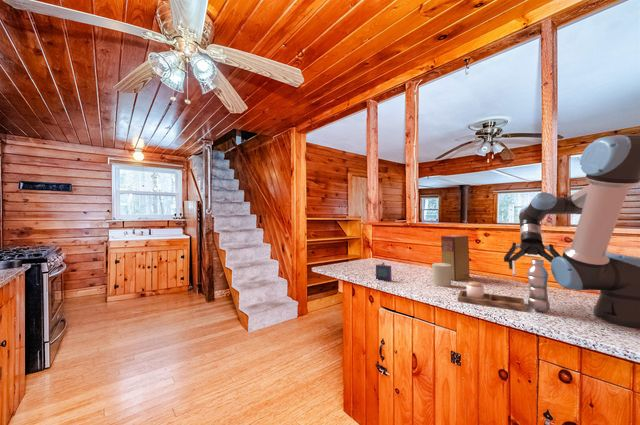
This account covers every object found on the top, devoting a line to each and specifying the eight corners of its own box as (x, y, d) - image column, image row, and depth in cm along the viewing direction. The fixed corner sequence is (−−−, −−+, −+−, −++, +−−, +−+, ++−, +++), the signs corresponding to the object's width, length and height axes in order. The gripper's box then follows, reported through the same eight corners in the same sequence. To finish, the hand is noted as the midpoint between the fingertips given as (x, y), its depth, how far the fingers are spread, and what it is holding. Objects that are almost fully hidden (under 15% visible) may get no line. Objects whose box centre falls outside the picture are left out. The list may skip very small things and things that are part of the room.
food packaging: (456, 274, 164) (455, 234, 163) (470, 278, 155) (469, 235, 155) (441, 277, 158) (440, 235, 158) (455, 281, 149) (454, 236, 149)
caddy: (523, 305, 110) (523, 298, 110) (525, 314, 101) (525, 306, 101) (461, 296, 123) (461, 290, 123) (458, 303, 114) (457, 296, 114)
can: (453, 289, 135) (453, 265, 135) (434, 288, 137) (434, 265, 137) (448, 284, 144) (448, 262, 144) (430, 283, 146) (430, 261, 146)
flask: (392, 280, 154) (391, 262, 154) (390, 281, 152) (390, 263, 152) (376, 278, 159) (376, 261, 159) (375, 280, 156) (374, 261, 156)
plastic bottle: (551, 315, 100) (550, 262, 100) (528, 311, 103) (527, 260, 103) (548, 309, 105) (547, 259, 105) (526, 306, 109) (525, 257, 109)
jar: (484, 299, 116) (483, 282, 116) (483, 303, 111) (483, 285, 110) (467, 296, 119) (467, 280, 119) (466, 300, 114) (465, 283, 114)
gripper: (567, 243, 114) (576, 287, 102) (497, 240, 128) (497, 278, 116) (570, 231, 109) (579, 276, 97) (497, 230, 123) (497, 268, 111)
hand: (534, 277), depth 106 cm, fingers open, 13 cm apart
